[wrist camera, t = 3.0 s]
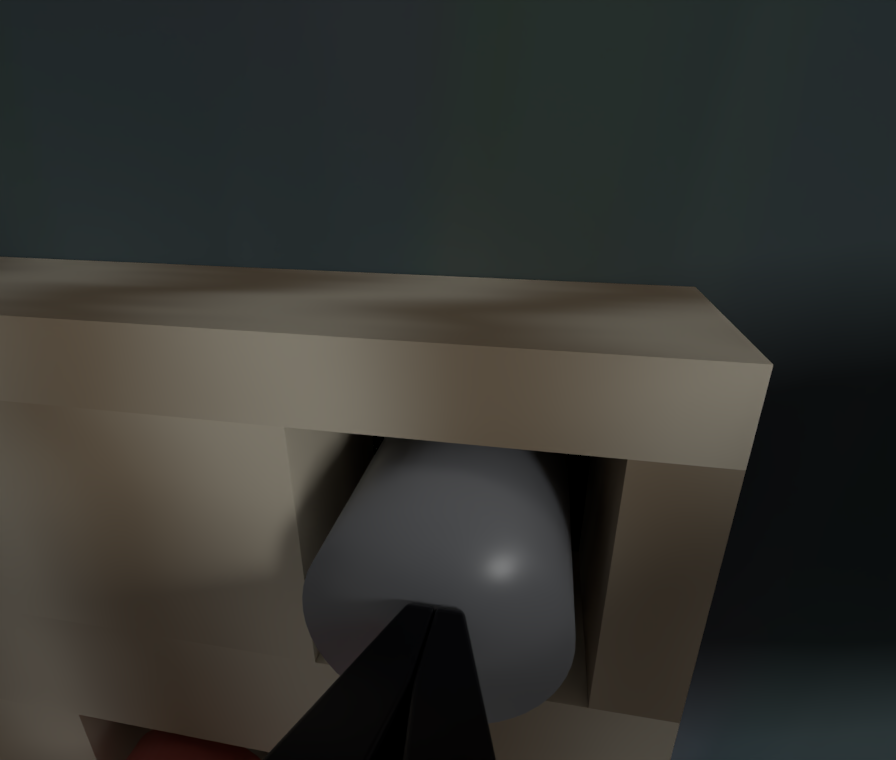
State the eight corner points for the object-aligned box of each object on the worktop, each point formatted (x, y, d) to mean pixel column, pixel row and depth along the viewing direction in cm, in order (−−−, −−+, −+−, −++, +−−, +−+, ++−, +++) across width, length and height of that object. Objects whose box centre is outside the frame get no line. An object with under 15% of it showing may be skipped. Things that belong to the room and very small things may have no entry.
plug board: (694, 287, 10) (772, 365, 7) (598, 804, 16) (610, 988, 13) (-161, 249, 13) (-426, 287, 10) (33, 694, 20) (-84, 817, 16)
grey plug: (576, 388, 11) (591, 534, 7) (559, 547, 12) (562, 745, 8) (382, 373, 11) (287, 500, 7) (390, 527, 13) (315, 701, 9)
